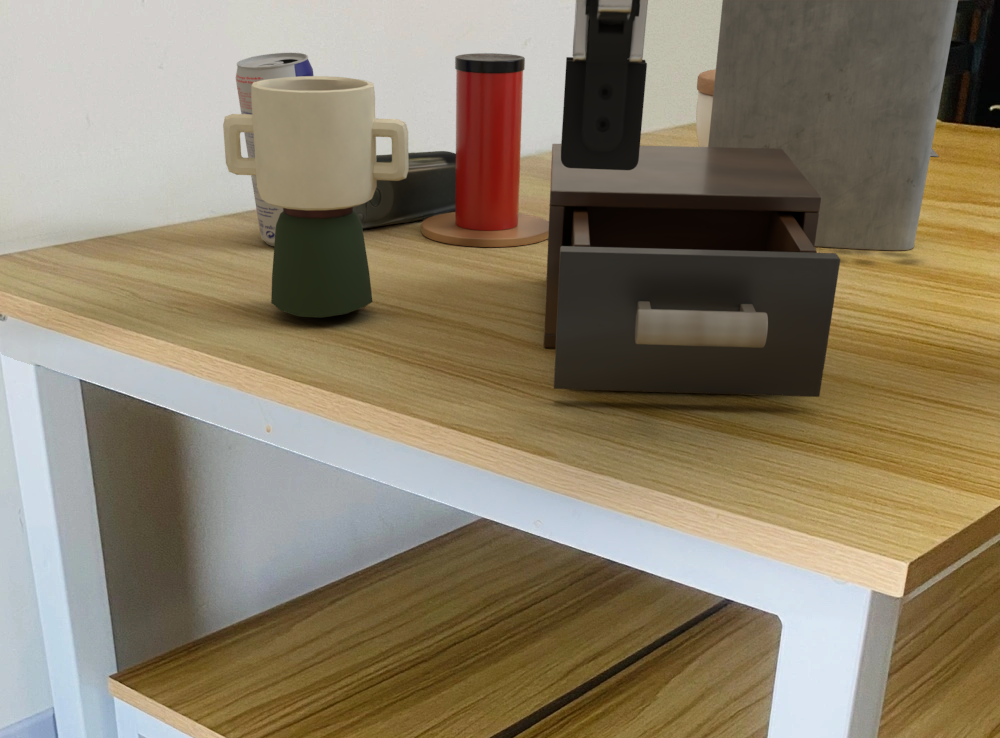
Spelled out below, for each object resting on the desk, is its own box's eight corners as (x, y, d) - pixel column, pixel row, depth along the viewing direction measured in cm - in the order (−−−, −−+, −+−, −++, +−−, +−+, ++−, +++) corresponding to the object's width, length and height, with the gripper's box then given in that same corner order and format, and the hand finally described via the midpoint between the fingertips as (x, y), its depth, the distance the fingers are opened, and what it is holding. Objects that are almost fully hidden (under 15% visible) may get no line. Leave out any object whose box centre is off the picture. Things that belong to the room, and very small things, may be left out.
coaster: (552, 219, 108) (553, 212, 108) (551, 249, 100) (552, 240, 100) (426, 216, 109) (426, 208, 109) (415, 245, 100) (415, 236, 100)
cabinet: (799, 355, 78) (821, 197, 74) (543, 347, 79) (550, 190, 74) (765, 286, 91) (782, 148, 87) (546, 280, 92) (552, 143, 88)
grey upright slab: (914, 242, 103) (969, -64, 92) (912, 254, 100) (969, -62, 89) (703, 226, 107) (732, -69, 96) (694, 237, 104) (724, -68, 93)
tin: (520, 217, 106) (525, 53, 100) (518, 232, 102) (524, 61, 96) (456, 216, 106) (457, 52, 100) (451, 230, 102) (452, 60, 96)
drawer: (833, 426, 65) (857, 281, 62) (553, 417, 66) (560, 273, 62) (780, 318, 81) (796, 198, 78) (555, 312, 82) (560, 193, 78)
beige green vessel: (419, 302, 87) (417, 78, 80) (399, 334, 81) (397, 94, 74) (251, 295, 88) (236, 73, 81) (220, 325, 82) (201, 88, 75)
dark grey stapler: (443, 145, 110) (295, 161, 100) (469, 150, 108) (321, 167, 99) (441, 210, 112) (297, 232, 103) (467, 216, 110) (323, 239, 101)
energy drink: (348, 233, 101) (327, 55, 94) (292, 253, 98) (265, 70, 91) (303, 222, 104) (278, 49, 97) (247, 241, 101) (217, 64, 94)
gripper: (776, -435, 41) (704, 204, 51) (725, -358, 54) (675, 141, 64) (527, -440, 42) (502, 196, 51) (535, -363, 54) (514, 135, 64)
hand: (598, 164), depth 57 cm, fingers closed
